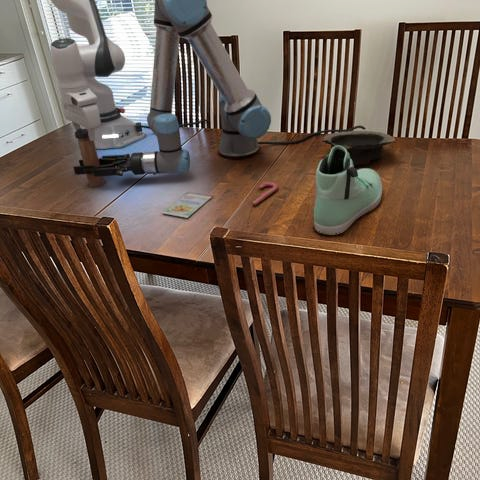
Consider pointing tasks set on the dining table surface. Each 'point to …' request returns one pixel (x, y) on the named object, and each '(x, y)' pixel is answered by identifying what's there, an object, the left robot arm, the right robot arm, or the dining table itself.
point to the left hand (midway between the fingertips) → (85, 137)
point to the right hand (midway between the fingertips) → (77, 167)
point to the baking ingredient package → (187, 205)
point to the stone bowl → (360, 144)
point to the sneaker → (343, 192)
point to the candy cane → (266, 192)
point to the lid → (81, 134)
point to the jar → (90, 160)
